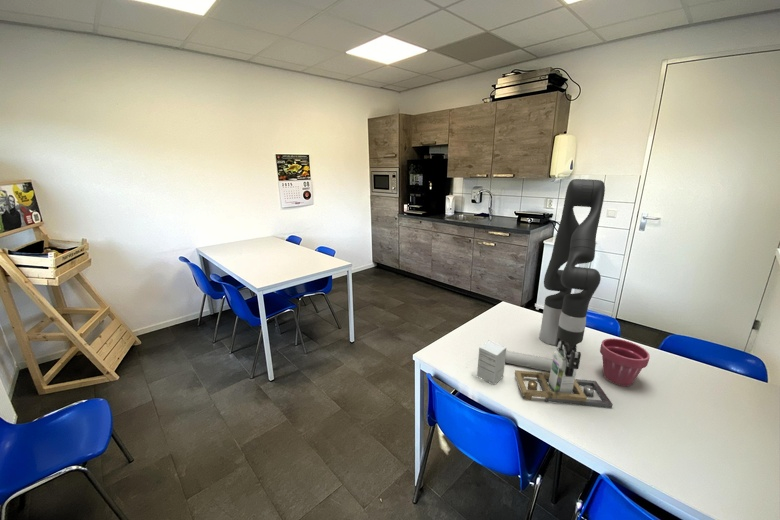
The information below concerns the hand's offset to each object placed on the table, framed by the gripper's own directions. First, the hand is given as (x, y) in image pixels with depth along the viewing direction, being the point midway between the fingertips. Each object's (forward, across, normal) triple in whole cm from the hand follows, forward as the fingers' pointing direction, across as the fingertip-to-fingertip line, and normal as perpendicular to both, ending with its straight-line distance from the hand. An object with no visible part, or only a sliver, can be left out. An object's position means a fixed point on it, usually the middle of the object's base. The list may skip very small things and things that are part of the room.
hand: (563, 368), depth 109 cm
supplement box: (+10, +5, +23) cm, 25 cm away
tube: (+10, +15, +9) cm, 20 cm away
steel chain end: (+10, 0, -4) cm, 10 cm away
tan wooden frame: (+10, 0, +4) cm, 10 cm away
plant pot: (+10, +11, -24) cm, 28 cm away
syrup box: (+10, 0, 0) cm, 10 cm away
